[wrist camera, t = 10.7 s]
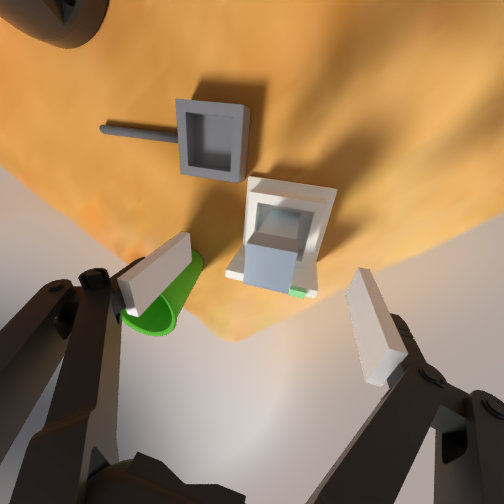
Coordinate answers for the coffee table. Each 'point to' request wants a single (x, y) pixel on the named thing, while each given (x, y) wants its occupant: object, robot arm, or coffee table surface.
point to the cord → (139, 133)
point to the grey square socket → (213, 139)
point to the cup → (167, 302)
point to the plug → (273, 252)
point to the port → (309, 231)
